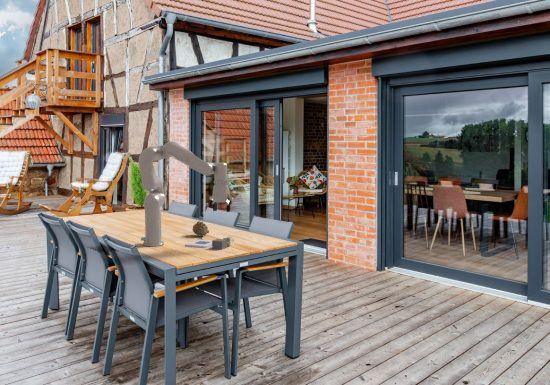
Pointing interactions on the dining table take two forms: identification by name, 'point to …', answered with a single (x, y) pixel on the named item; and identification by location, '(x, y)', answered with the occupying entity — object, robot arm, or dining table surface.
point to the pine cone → (200, 229)
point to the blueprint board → (200, 243)
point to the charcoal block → (219, 244)
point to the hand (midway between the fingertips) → (221, 211)
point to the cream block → (229, 241)
